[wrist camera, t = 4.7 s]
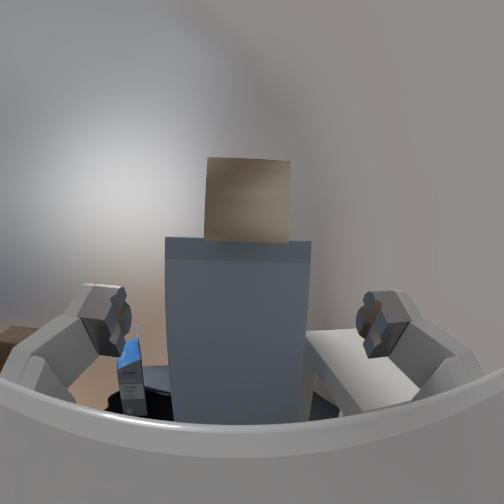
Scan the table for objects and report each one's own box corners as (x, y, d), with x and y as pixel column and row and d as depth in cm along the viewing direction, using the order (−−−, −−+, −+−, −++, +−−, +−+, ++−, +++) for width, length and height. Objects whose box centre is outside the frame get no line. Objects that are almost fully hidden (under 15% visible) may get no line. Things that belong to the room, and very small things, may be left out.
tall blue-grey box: (186, 493, 20) (165, 236, 19) (198, 415, 36) (194, 236, 34) (283, 493, 21) (311, 241, 19) (265, 415, 37) (275, 238, 35)
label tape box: (121, 388, 40) (112, 322, 39) (144, 387, 42) (137, 322, 41) (123, 417, 32) (110, 342, 32) (150, 416, 34) (140, 342, 33)
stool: (319, 529, 15) (362, 411, 14) (289, 438, 31) (301, 331, 30) (393, 509, 16) (452, 386, 15) (345, 431, 32) (365, 327, 31)
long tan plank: (176, 240, 10) (182, 132, 10) (212, 236, 31) (213, 200, 30) (315, 244, 10) (316, 139, 10) (258, 238, 31) (259, 201, 31)
